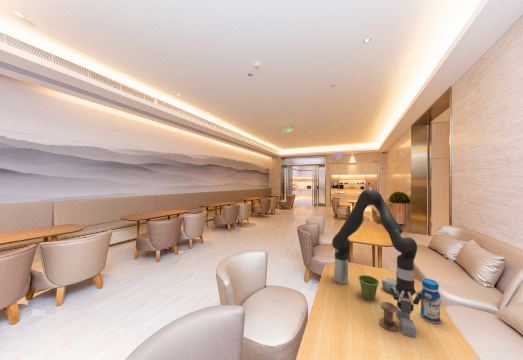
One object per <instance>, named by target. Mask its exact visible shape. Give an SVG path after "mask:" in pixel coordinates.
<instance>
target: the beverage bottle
mask: <svg viewBox="0 0 523 360" xmlns="http://www.w3.org/2000/svg"><path fill="white" fill-rule="evenodd" d="M421 282H422V283H421V285H422V287H421V289H420V291H419V292H420V293H421V294H422V297H421V299H420V316H421V318H422V319H424V320H425V321H427V322H430V323H432V324H433V323H434V324H439V323H440V322H441V303H442V301H441V294H440V292H439V287H440V285H439V282H437V281H436V280H434V279H431V278H422V280H421Z"/></svg>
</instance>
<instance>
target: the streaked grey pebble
mask: <svg viewBox="0 0 523 360" xmlns="http://www.w3.org/2000/svg"><path fill="white" fill-rule="evenodd" d="M390 286H392V287H395V286H396V279H394V278H388V277H385V278H382V280H381V287H382V288H383V289H384V290H385V291H386V292H388V293H391V294H392V292H391V290H390ZM394 293H395V295H396V296H398V293H399V292H398V291H397V290H395V292H394Z"/></svg>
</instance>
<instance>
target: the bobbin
mask: <svg viewBox="0 0 523 360" xmlns="http://www.w3.org/2000/svg"><path fill="white" fill-rule="evenodd" d="M379 306H380V308H381V309H382V310H383V317H381V318H379V319H378V320H379V321H378V322H379V323H378V324H379V325H380V327H382V328H383V329H384V330H385V331H389V332H396V331H398V330H399V327H398V324H397V323H396V322H395V321H394V313H397V312H396V311H397V308H396V305H395V304H393V303H391V302H388V301H381V302H380V304H379Z"/></svg>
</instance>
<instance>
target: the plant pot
mask: <svg viewBox="0 0 523 360" xmlns="http://www.w3.org/2000/svg"><path fill="white" fill-rule="evenodd" d="M358 281H359V285H360V290H361V296H362V298H364V299H366V300H367V301H368V300H369V301H374V300H375V299H376V293H377V289H378V286H379V284H380V280H378V279H377V278H376V277H374V276H372V275H367V274H361V275H359V276H358Z"/></svg>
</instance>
